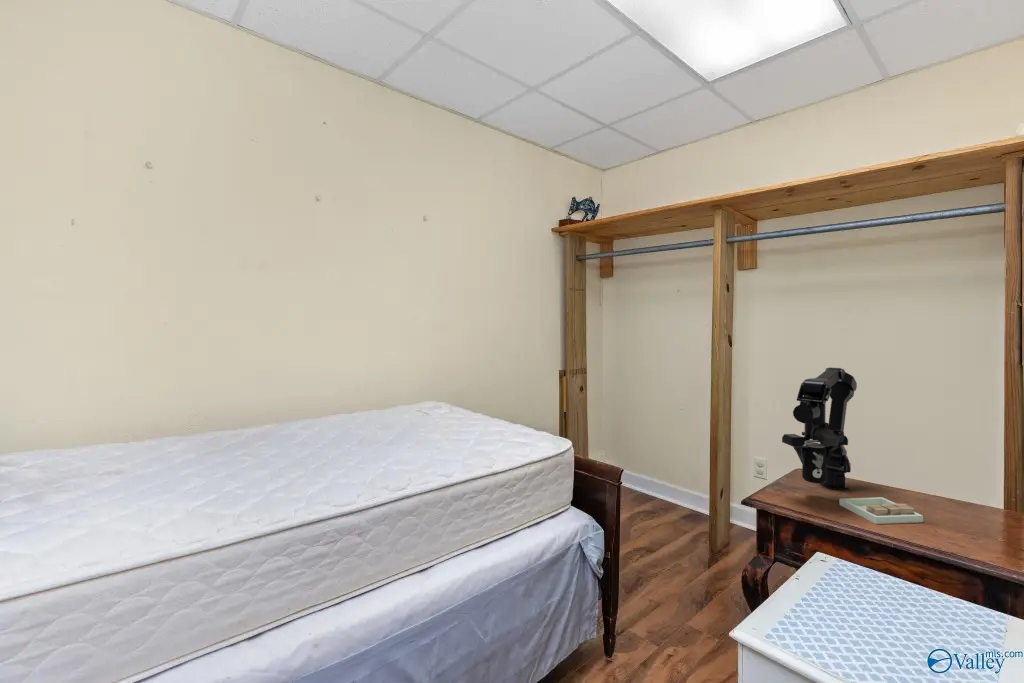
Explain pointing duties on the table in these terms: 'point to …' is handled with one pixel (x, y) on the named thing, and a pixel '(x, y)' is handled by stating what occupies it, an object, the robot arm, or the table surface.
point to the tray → (860, 508)
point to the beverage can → (815, 463)
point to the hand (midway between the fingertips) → (814, 465)
